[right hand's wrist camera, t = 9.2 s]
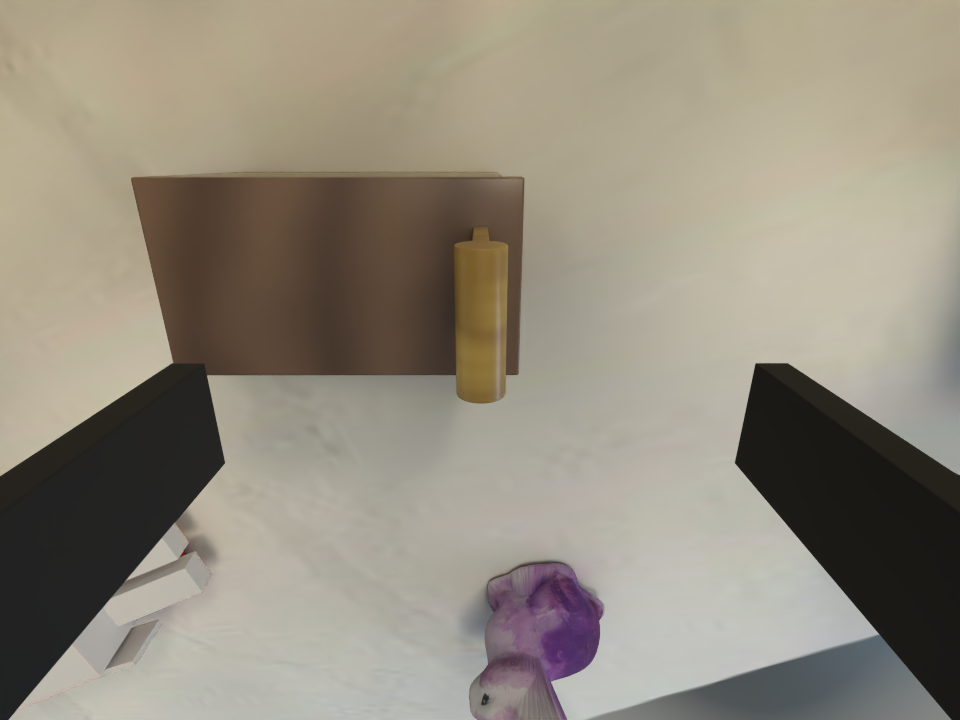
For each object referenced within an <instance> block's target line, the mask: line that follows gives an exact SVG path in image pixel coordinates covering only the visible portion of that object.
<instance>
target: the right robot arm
mask: <svg viewBox="0 0 960 720" xmlns="http://www.w3.org/2000/svg"><path fill="white" fill-rule="evenodd" d="M224 464H225V460H224V456H223V451H222V446H221V441H220V436H219V432H218V427H217V422H216V417H215V412H214V408H213V403H212V398H211V393H210V388H209V383H208V379H207V374H206V369H205V364H204V363H172V364H171V365H169V366H168V367H166V368H164V369H163V370H161V371H160V372H158V373H157V374H155V375H154V376H152V377H151V378H149V379H148V380H146V381H145V382H143V383H142V384H140V385H139V386H137V387H136V388H134V389H133V390H131V391H129V392H128V393H126V394H125V395H123V396H122V397H120V398H119V399H117V400H116V401H114V402H113V403H111V404H110V405H108V406H107V407H105V408H104V409H102V410H101V411H99V412H98V413H96V414H95V415H93V416H91V417H90V418H88V419H87V420H85V421H84V422H82V423H81V424H79V425H78V426H76V427H75V428H73V429H72V430H70V431H69V432H67V433H66V434H64V435H63V436H61V437H60V438H58V439H56V440H55V441H53V442H52V443H50V444H49V445H47V446H46V447H44V448H43V449H41V450H40V451H38V452H37V453H35V454H34V455H32V456H31V457H29V458H28V459H26V460H25V461H23V462H21V463H20V464H18V465H17V466H15V467H14V468H12V469H11V470H9V471H8V472H6V473H5V474H3V475H2V476H0V720H9V718H10V717H11V716H12V715H13V714H14V712H15V711H16V710H17V709H18V708H19V707H20V705H21V704H22V703H23V702H24V701H25V699H26V698H27V697H28V696H29V695H30V694H31V692H32V691H33V690H34V689H35V688H36V686H37V685H38V684H39V683H40V682H41V680H42V679H43V678H44V677H45V676H46V675H47V673H48V672H49V671H50V670H51V669H52V667H53V666H54V665H55V664H56V663H57V662H58V660H59V659H60V658H61V657H62V656H63V654H64V653H65V652H66V651H67V650H68V649H69V647H70V646H71V645H72V644H73V643H74V641H75V640H76V639H77V638H78V637H79V635H80V634H81V633H82V632H83V631H84V630H85V628H86V627H87V626H88V625H89V624H90V622H91V621H92V620H93V619H94V618H95V617H96V615H97V614H98V613H99V612H100V611H101V609H102V608H103V607H104V606H105V605H106V604H107V602H108V601H109V600H110V599H111V598H112V596H113V595H114V594H115V593H116V592H117V590H118V589H119V588H120V587H121V586H122V585H123V583H124V582H125V581H126V580H127V579H128V577H129V576H130V575H131V574H132V573H133V572H134V570H135V569H136V568H137V567H138V566H139V564H140V563H141V562H142V561H143V560H144V558H145V557H146V556H147V555H148V554H149V553H150V551H151V550H152V549H153V548H154V547H155V545H156V544H157V543H158V542H159V541H160V540H161V538H162V537H163V536H164V535H165V534H166V532H167V531H168V530H169V529H170V528H171V527H172V525H173V524H174V523H175V522H176V521H177V519H178V518H179V517H180V516H181V515H182V513H183V512H184V511H185V510H186V509H187V508H188V506H189V505H190V504H191V503H192V502H193V500H194V499H195V498H196V497H197V496H198V495H199V493H200V492H201V491H202V490H203V489H204V487H205V486H206V485H207V484H208V483H209V482H210V480H211V479H212V478H213V477H214V476H215V474H216V473H217V472H218V471H219V470H220V468H221V467H222V466H223V465H224ZM735 464H736V465H737V466H738V467H739V468H740V470H741V471H742V472H743V473H744V474H745V476H746V477H747V478H748V479H749V480H750V482H751V483H752V484H753V485H754V486H755V487H756V489H757V490H758V491H759V492H760V493H761V495H762V496H763V497H764V498H765V499H766V500H767V502H768V503H769V504H770V505H771V506H772V508H773V509H774V510H775V511H776V512H777V513H778V515H779V516H780V517H781V518H782V519H783V521H784V522H785V523H786V524H787V525H788V527H789V528H790V529H791V530H792V531H793V532H794V534H795V535H796V536H797V537H798V538H799V540H800V541H801V542H802V543H803V544H804V545H805V547H806V548H807V549H808V550H809V551H810V553H811V554H812V555H813V556H814V557H815V558H816V560H817V561H818V562H819V563H820V564H821V566H822V567H823V568H824V569H825V570H826V572H827V573H828V574H829V575H830V576H831V577H832V579H833V580H834V581H835V582H836V583H837V585H838V586H839V587H840V588H841V589H842V590H843V592H844V593H845V594H846V595H847V596H848V598H849V599H850V600H851V601H852V602H853V604H854V605H855V606H856V607H857V608H858V609H859V611H860V612H861V613H862V614H863V615H864V617H865V618H866V619H867V620H868V621H869V622H870V624H871V625H872V626H873V627H874V628H875V630H876V631H877V632H878V633H879V634H880V635H881V637H882V638H883V639H884V640H885V641H886V643H887V644H888V645H889V646H890V647H891V649H892V650H893V651H894V652H895V653H896V654H897V656H898V657H899V658H900V659H901V660H902V662H903V663H904V664H905V665H906V666H907V667H908V669H909V670H910V671H911V672H912V673H913V675H914V676H915V677H916V678H917V679H918V680H919V682H920V683H921V684H922V685H923V686H924V688H925V689H926V690H927V691H928V692H929V694H930V695H931V696H932V697H933V698H934V699H935V701H936V702H937V703H938V704H939V705H940V707H941V708H942V709H943V710H944V711H945V712H946V714H947V715H948V716H949V717H950V718H951V720H960V475H958V474H956V473H954V472H952V471H951V470H949V469H948V468H946V467H945V466H943V465H942V464H940V463H939V462H937V461H935V460H934V459H932V458H931V457H929V456H928V455H926V454H925V453H923V452H922V451H920V450H919V449H917V448H916V447H914V446H913V445H911V444H910V443H908V442H907V441H905V440H904V439H902V438H900V437H899V436H897V435H896V434H894V433H893V432H891V431H890V430H888V429H887V428H885V427H884V426H882V425H881V424H879V423H878V422H876V421H875V420H873V419H872V418H870V417H869V416H867V415H865V414H864V413H862V412H861V411H859V410H858V409H856V408H855V407H853V406H852V405H850V404H849V403H847V402H846V401H844V400H843V399H841V398H840V397H838V396H837V395H835V394H834V393H832V392H831V391H829V390H827V389H826V388H824V387H823V386H821V385H820V384H818V383H817V382H815V381H814V380H812V379H811V378H809V377H808V376H806V375H805V374H803V373H802V372H800V371H799V370H797V369H796V368H794V367H792V366H791V365H789V364H788V363H756V364H755V369H754V374H753V379H752V383H751V388H750V393H749V398H748V403H747V408H746V412H745V417H744V422H743V427H742V432H741V436H740V441H739V446H738V451H737V456H736V460H735Z"/></svg>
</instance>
